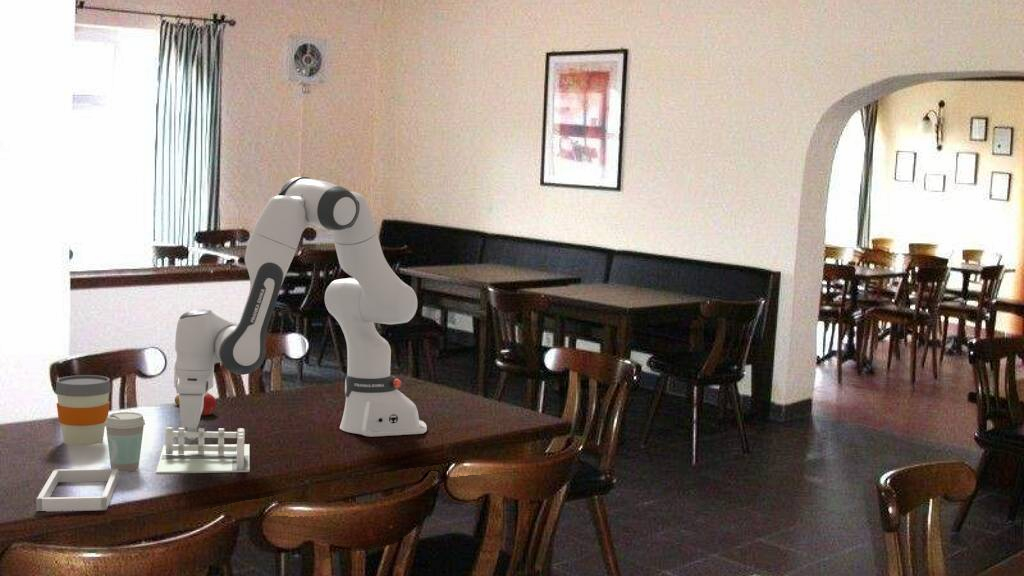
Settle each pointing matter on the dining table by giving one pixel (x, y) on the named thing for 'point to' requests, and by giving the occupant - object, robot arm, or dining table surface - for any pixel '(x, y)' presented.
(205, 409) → the kendama
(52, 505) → the rim
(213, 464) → the card
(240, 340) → the robot arm
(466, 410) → the dining table surface
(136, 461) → the coffee cup
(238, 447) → the fence fixed
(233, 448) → the white toy fence
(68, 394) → the reusable coffee cup
